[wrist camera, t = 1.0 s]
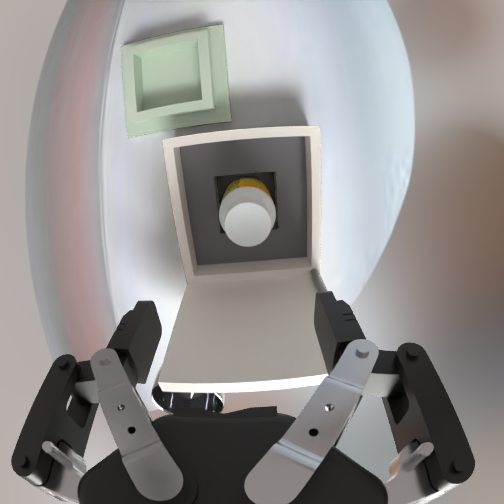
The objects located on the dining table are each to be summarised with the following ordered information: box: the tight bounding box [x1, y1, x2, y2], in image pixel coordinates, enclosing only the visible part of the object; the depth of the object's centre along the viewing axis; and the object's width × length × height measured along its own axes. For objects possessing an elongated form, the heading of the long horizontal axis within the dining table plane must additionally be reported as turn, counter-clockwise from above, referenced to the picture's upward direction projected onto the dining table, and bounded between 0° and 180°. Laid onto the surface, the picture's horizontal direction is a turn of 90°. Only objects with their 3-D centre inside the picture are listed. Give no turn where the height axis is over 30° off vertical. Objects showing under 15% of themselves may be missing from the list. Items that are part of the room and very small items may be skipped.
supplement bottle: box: [219, 176, 276, 247], centre depth 27 cm, size 5×5×10 cm
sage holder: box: [121, 25, 231, 138], centre depth 24 cm, size 12×12×3 cm
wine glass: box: [151, 363, 224, 414], centre depth 32 cm, size 8×8×15 cm
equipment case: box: [158, 126, 328, 393], centre depth 23 cm, size 17×15×19 cm
